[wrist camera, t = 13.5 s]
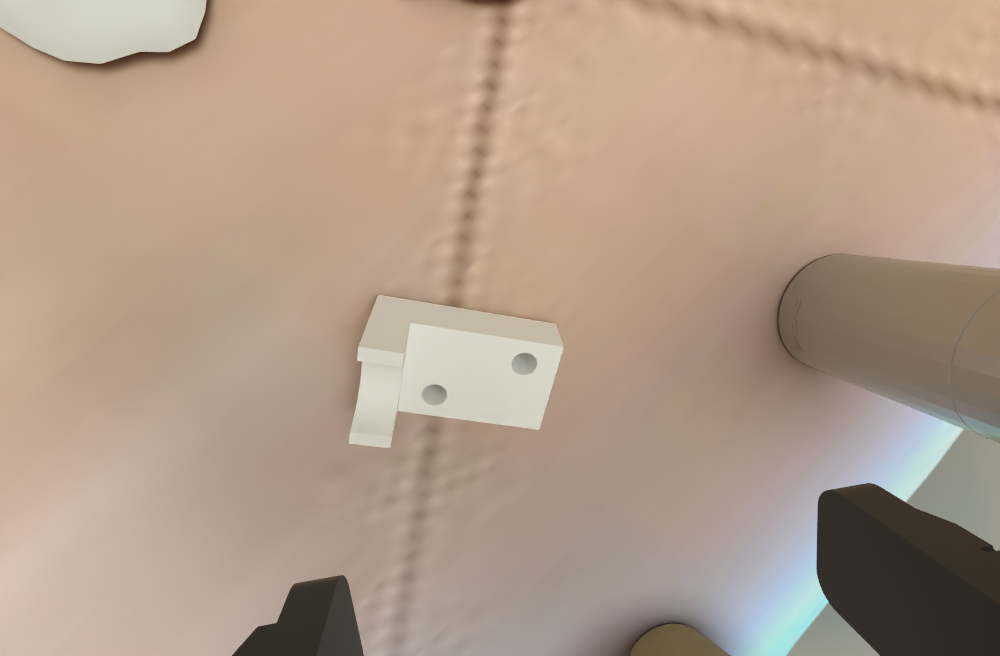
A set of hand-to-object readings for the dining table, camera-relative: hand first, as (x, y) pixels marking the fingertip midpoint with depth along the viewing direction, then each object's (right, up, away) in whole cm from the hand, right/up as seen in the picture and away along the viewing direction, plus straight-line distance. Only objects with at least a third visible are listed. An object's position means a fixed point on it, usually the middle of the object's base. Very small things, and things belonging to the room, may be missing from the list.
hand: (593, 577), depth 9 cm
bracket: (-5, +2, +31) cm, 31 cm away
